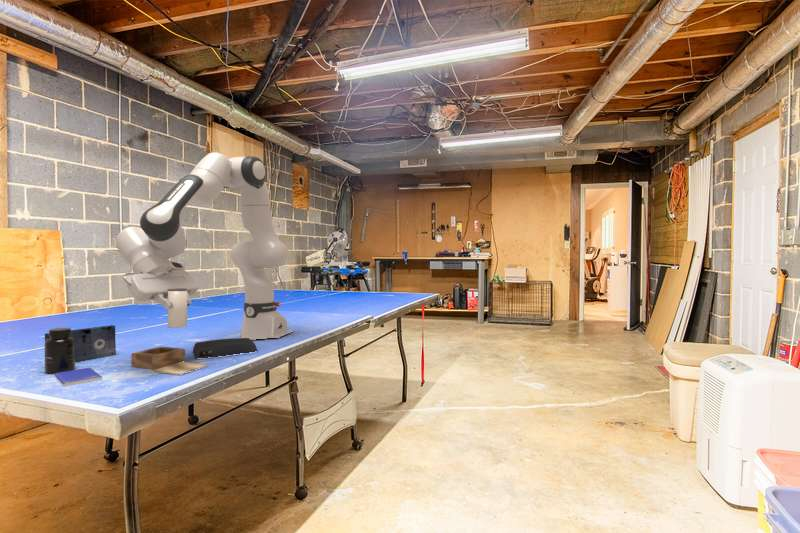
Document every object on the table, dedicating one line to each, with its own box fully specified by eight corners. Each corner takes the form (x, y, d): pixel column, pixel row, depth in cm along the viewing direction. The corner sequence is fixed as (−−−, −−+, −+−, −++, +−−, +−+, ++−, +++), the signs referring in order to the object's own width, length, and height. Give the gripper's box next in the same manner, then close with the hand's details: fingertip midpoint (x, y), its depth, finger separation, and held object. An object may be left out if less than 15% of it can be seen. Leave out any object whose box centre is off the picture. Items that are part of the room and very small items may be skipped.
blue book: (102, 375, 111) (91, 367, 120) (63, 382, 105) (54, 373, 114) (102, 381, 111) (91, 372, 120) (63, 388, 105) (54, 378, 114)
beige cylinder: (178, 324, 125) (178, 288, 125) (191, 325, 123) (191, 288, 123) (163, 327, 120) (163, 289, 120) (176, 328, 118) (176, 289, 118)
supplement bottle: (39, 374, 115) (38, 331, 115) (52, 368, 122) (51, 327, 122) (68, 373, 117) (67, 330, 117) (80, 366, 124) (79, 326, 123)
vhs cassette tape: (112, 354, 140) (112, 324, 139) (116, 355, 138) (116, 325, 138) (44, 366, 124) (43, 333, 123) (48, 368, 122) (47, 334, 122)
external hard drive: (192, 353, 144) (192, 341, 143) (250, 347, 153) (250, 336, 153) (195, 361, 132) (194, 348, 132) (258, 354, 142) (258, 342, 142)
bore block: (160, 358, 133) (160, 346, 133) (185, 361, 130) (184, 348, 130) (131, 366, 124) (131, 353, 124) (156, 369, 121) (156, 356, 121)
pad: (182, 363, 128) (182, 361, 128) (208, 366, 125) (208, 364, 125) (153, 372, 119) (153, 370, 118) (180, 375, 115) (180, 373, 115)
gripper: (125, 265, 114) (153, 302, 111) (187, 263, 133) (211, 295, 130) (114, 281, 115) (140, 318, 112) (176, 277, 135) (200, 309, 132)
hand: (179, 306), depth 121 cm, fingers closed on beige cylinder, 5 cm apart
